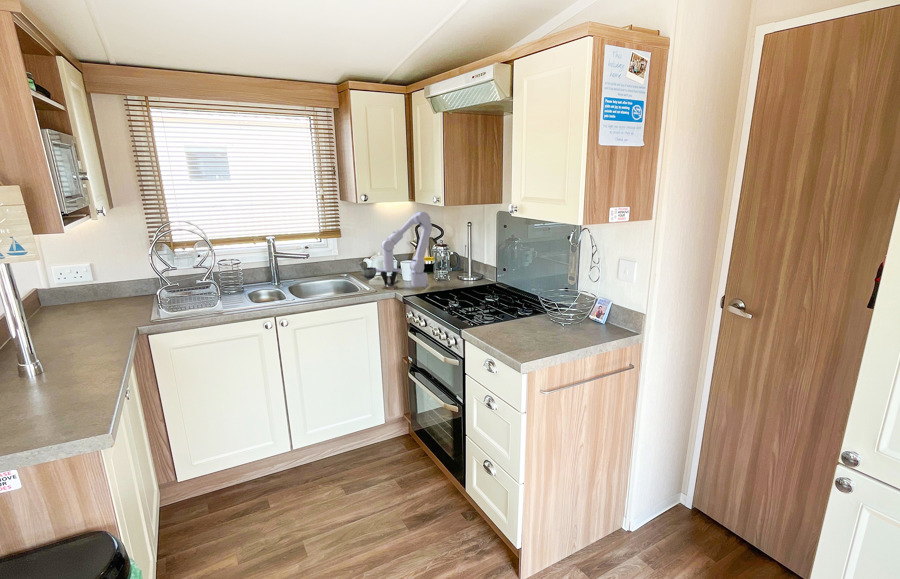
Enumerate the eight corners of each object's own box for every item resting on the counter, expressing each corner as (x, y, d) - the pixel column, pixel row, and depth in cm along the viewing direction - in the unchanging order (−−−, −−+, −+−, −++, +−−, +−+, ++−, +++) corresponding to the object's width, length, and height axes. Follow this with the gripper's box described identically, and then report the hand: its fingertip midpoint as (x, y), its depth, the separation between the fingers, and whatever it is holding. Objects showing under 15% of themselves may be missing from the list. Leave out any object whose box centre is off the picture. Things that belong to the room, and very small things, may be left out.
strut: (394, 287, 254) (393, 275, 253) (391, 288, 250) (391, 276, 249) (387, 287, 255) (387, 275, 253) (385, 288, 251) (384, 276, 250)
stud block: (400, 288, 257) (400, 284, 256) (395, 292, 247) (395, 288, 247) (384, 288, 259) (384, 284, 258) (378, 292, 249) (378, 288, 249)
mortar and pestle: (375, 277, 290) (374, 259, 287) (378, 279, 282) (377, 261, 279) (358, 278, 286) (357, 260, 283) (361, 281, 277) (360, 262, 275)
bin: (397, 282, 273) (397, 276, 272) (390, 287, 261) (389, 281, 260) (377, 281, 276) (376, 276, 275) (369, 286, 263) (368, 280, 262)
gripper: (402, 260, 252) (403, 283, 255) (378, 260, 254) (379, 283, 257) (399, 262, 245) (400, 286, 248) (374, 262, 247) (375, 285, 251)
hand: (389, 284), depth 252 cm, fingers open, 4 cm apart
